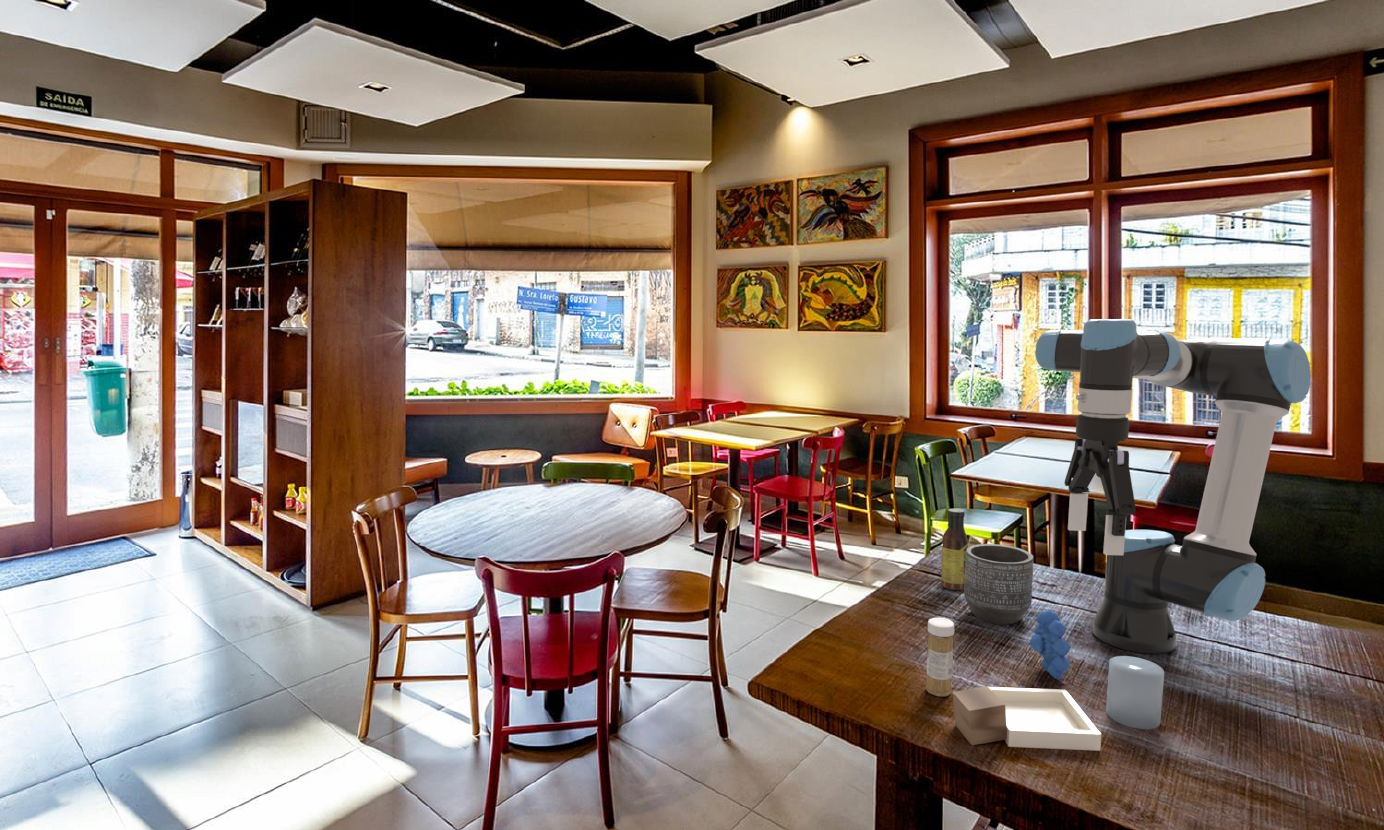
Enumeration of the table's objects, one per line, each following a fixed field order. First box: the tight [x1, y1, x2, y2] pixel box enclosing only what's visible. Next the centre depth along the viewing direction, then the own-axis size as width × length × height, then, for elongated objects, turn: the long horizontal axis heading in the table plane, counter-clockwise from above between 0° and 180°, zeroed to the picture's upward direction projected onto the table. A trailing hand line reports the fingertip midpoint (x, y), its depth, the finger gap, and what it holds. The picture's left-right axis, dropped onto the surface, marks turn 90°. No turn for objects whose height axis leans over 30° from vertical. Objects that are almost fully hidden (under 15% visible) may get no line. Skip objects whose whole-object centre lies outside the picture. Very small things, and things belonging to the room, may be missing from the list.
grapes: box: [1028, 609, 1071, 680], centre depth 142 cm, size 12×7×12 cm, turn 177°
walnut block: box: [952, 685, 1007, 746], centre depth 121 cm, size 6×6×6 cm
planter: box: [963, 543, 1034, 626], centre depth 168 cm, size 14×14×15 cm
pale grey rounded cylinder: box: [1105, 655, 1165, 730], centre depth 127 cm, size 8×11×9 cm
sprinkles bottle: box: [925, 617, 955, 697], centre depth 135 cm, size 5×5×13 cm
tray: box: [987, 686, 1102, 752], centre depth 124 cm, size 14×14×3 cm
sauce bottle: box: [940, 508, 969, 591], centre depth 186 cm, size 7×6×20 cm
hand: (1094, 541), depth 123 cm, fingers open, 13 cm apart
